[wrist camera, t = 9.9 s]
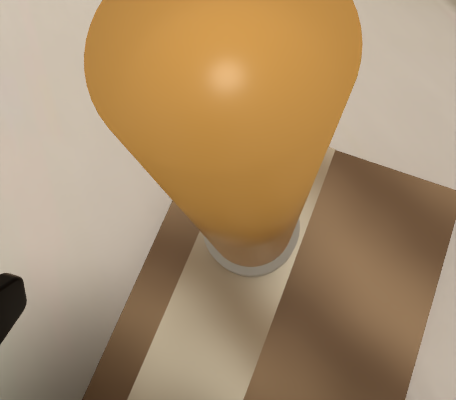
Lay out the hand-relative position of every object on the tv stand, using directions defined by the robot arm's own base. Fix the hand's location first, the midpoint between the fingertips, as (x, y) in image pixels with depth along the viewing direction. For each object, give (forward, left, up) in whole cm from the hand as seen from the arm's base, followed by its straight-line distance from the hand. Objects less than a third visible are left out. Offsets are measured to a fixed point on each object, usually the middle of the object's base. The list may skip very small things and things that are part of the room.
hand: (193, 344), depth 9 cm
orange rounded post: (+4, 0, -8) cm, 9 cm away
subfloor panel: (+1, -2, -9) cm, 9 cm away
